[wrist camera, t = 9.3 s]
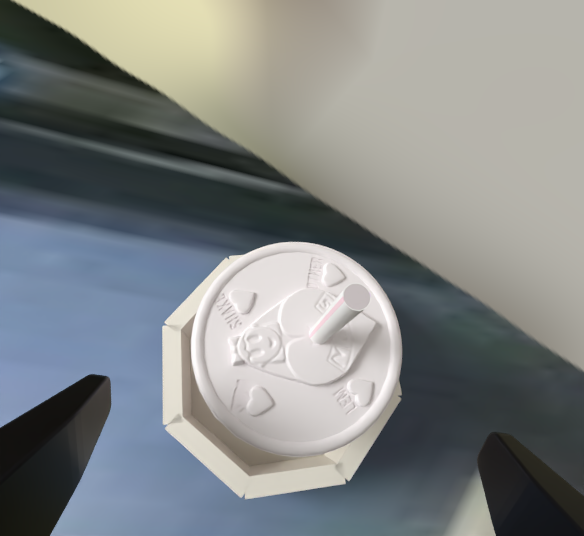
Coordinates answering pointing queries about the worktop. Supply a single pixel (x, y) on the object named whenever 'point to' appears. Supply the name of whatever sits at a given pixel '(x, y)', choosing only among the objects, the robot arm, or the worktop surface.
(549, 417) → the worktop surface
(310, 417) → the smoothie
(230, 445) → the bowl
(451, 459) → the worktop surface
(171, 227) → the worktop surface
